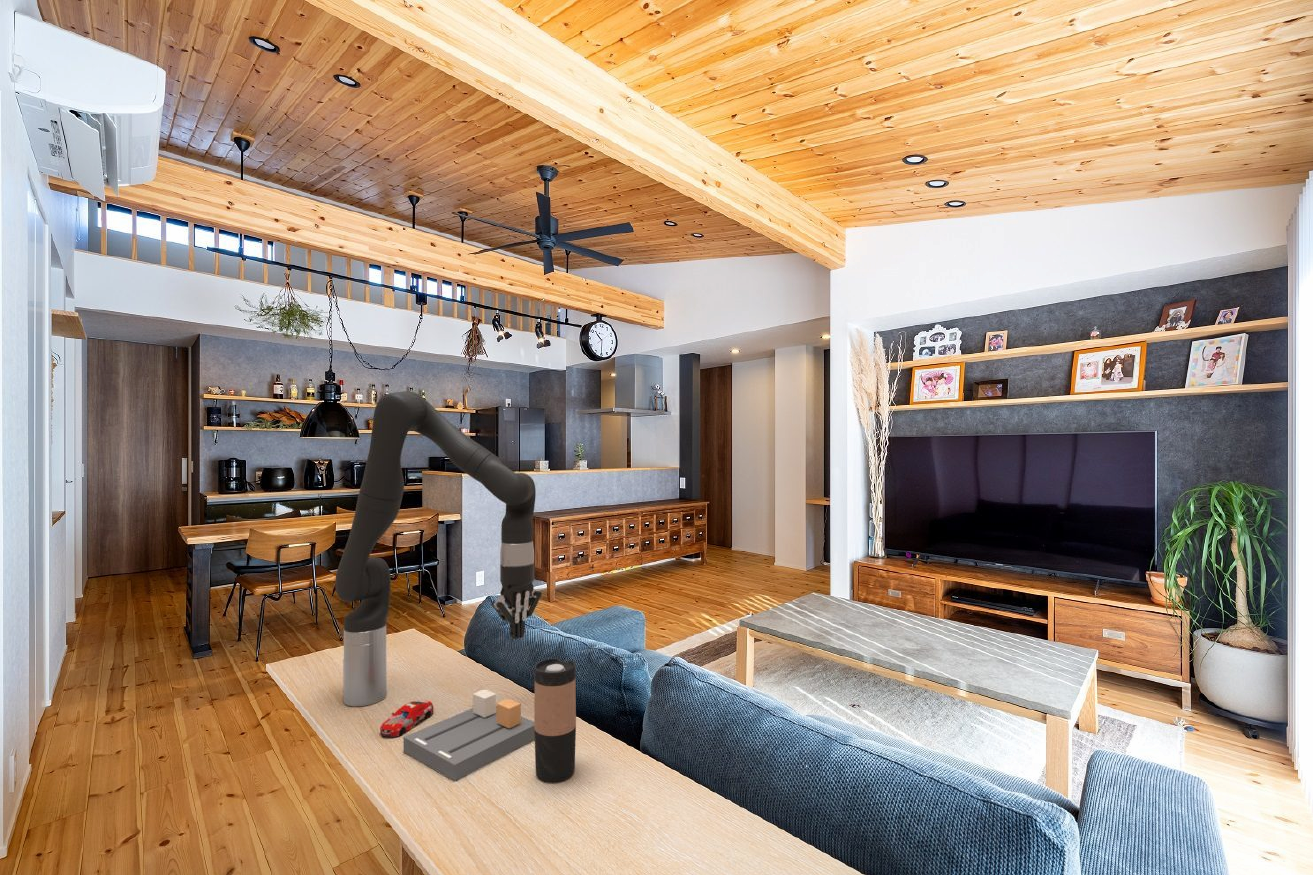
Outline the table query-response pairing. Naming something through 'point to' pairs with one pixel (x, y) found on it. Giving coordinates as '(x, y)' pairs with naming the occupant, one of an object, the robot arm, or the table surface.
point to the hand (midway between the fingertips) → (517, 637)
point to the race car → (407, 718)
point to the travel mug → (555, 720)
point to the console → (466, 743)
